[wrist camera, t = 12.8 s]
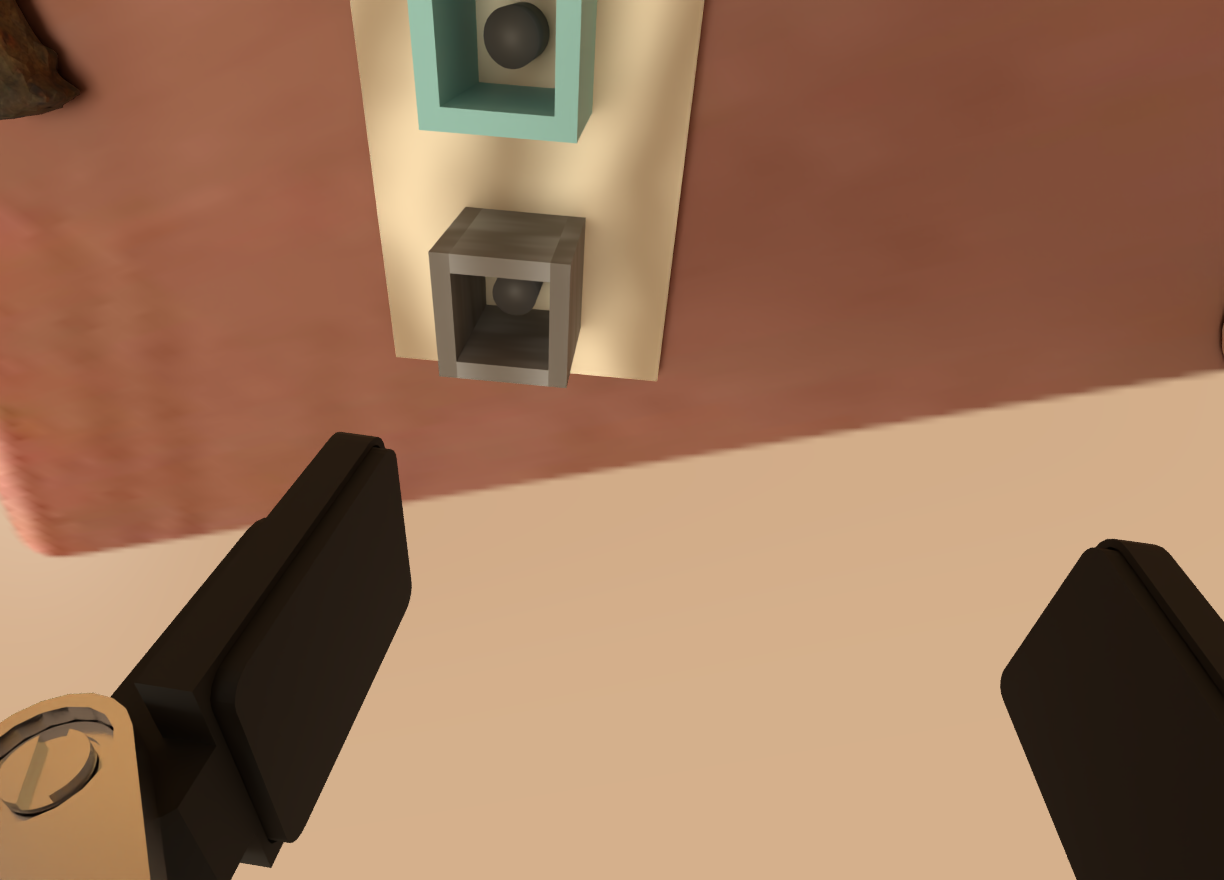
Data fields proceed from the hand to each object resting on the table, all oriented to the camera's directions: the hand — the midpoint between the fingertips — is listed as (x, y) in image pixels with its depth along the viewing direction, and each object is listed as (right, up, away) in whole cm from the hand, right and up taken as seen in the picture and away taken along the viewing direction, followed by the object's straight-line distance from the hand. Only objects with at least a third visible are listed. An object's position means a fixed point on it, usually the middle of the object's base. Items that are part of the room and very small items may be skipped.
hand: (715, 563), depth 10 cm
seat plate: (-5, +15, +21) cm, 27 cm away
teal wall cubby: (-5, +18, +18) cm, 26 cm away
